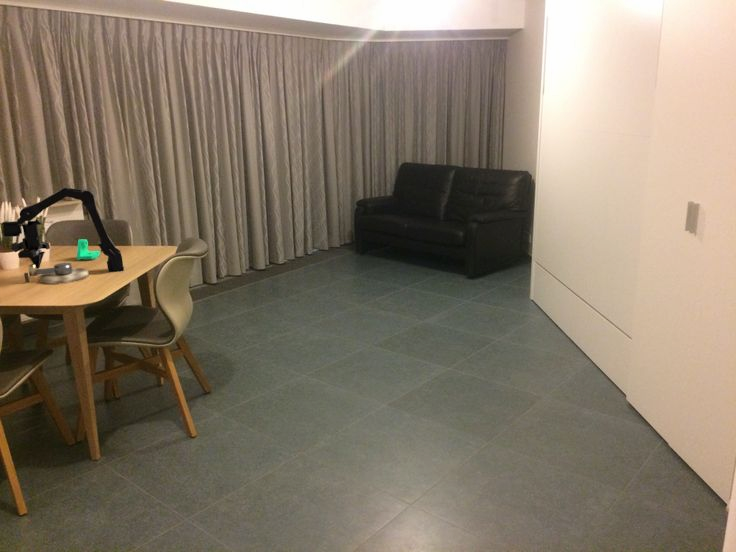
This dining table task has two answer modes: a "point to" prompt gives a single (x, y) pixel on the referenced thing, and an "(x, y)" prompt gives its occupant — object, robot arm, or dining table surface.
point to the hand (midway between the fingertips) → (37, 268)
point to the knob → (51, 269)
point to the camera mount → (85, 251)
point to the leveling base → (61, 277)
